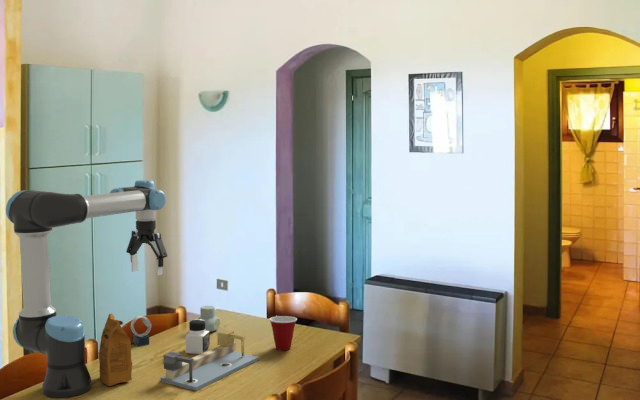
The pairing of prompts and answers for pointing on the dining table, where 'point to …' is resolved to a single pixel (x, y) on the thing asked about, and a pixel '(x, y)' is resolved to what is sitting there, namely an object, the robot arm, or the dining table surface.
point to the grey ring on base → (142, 338)
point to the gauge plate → (212, 371)
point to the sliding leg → (229, 339)
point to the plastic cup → (283, 331)
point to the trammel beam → (192, 361)
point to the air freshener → (209, 318)
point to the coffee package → (115, 353)
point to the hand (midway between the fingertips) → (147, 273)
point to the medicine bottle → (197, 337)
